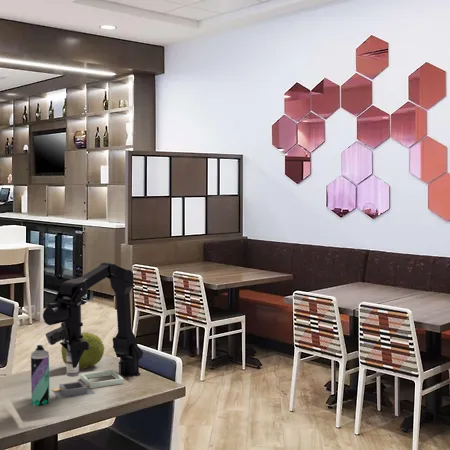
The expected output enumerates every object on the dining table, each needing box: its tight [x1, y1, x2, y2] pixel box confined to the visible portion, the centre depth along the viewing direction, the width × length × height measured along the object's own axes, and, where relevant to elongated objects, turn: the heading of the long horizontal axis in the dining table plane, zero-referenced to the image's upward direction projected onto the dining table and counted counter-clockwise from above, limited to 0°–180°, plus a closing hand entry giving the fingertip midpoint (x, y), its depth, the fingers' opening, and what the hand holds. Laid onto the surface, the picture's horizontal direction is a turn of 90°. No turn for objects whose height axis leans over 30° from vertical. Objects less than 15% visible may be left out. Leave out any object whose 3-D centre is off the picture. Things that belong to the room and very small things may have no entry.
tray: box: [79, 369, 125, 389], centre depth 230 cm, size 12×12×3 cm
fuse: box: [66, 351, 80, 378], centre depth 218 cm, size 4×4×8 cm
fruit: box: [60, 332, 105, 370], centre depth 251 cm, size 16×14×15 cm
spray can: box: [30, 344, 51, 407], centre depth 207 cm, size 6×6×20 cm
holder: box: [51, 380, 96, 400], centre depth 218 cm, size 12×10×4 cm
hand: (72, 365), depth 218 cm, fingers closed on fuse, 4 cm apart
